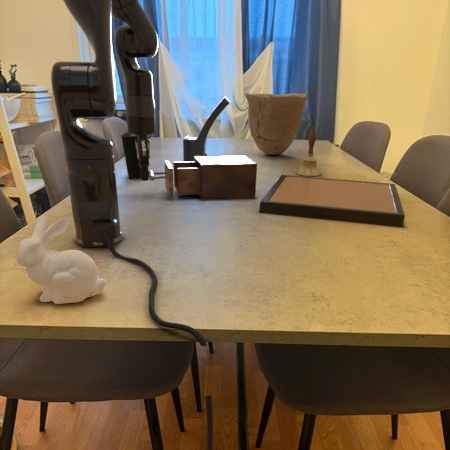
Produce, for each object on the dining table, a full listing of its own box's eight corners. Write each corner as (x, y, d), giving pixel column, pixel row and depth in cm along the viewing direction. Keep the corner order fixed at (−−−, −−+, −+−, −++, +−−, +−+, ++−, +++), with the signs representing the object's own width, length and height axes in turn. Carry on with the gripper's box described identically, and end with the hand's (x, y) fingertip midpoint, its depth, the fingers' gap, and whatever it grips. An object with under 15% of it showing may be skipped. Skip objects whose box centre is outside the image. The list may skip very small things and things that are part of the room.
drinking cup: (119, 178, 144) (113, 113, 135) (133, 174, 150) (129, 111, 141) (137, 181, 141) (133, 114, 132) (151, 176, 147) (148, 113, 138)
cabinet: (201, 200, 122) (201, 164, 117) (194, 189, 133) (194, 156, 128) (255, 198, 125) (257, 163, 121) (243, 188, 136) (245, 155, 132)
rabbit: (21, 305, 66) (4, 230, 60) (44, 279, 74) (31, 211, 69) (100, 307, 66) (90, 232, 60) (114, 281, 74) (107, 213, 69)
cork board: (402, 226, 105) (393, 193, 135) (404, 215, 103) (394, 183, 134) (259, 212, 113) (280, 183, 143) (259, 201, 111) (281, 174, 142)
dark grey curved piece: (228, 168, 163) (229, 97, 152) (182, 166, 164) (181, 96, 153) (229, 163, 173) (231, 96, 161) (186, 161, 174) (185, 94, 162)
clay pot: (233, 150, 200) (235, 91, 189) (288, 149, 208) (293, 91, 196) (255, 161, 177) (258, 94, 166) (315, 159, 185) (323, 95, 173)
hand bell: (296, 175, 155) (300, 128, 147) (298, 171, 162) (302, 125, 154) (319, 177, 153) (325, 129, 145) (320, 172, 160) (326, 126, 153)
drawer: (150, 198, 119) (149, 168, 115) (148, 188, 129) (146, 160, 125) (220, 195, 123) (221, 167, 120) (212, 186, 133) (213, 159, 130)
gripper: (125, 111, 119) (130, 175, 127) (127, 116, 108) (132, 186, 116) (152, 111, 121) (156, 174, 129) (157, 116, 109) (160, 185, 118)
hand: (144, 180), depth 122 cm, fingers closed
